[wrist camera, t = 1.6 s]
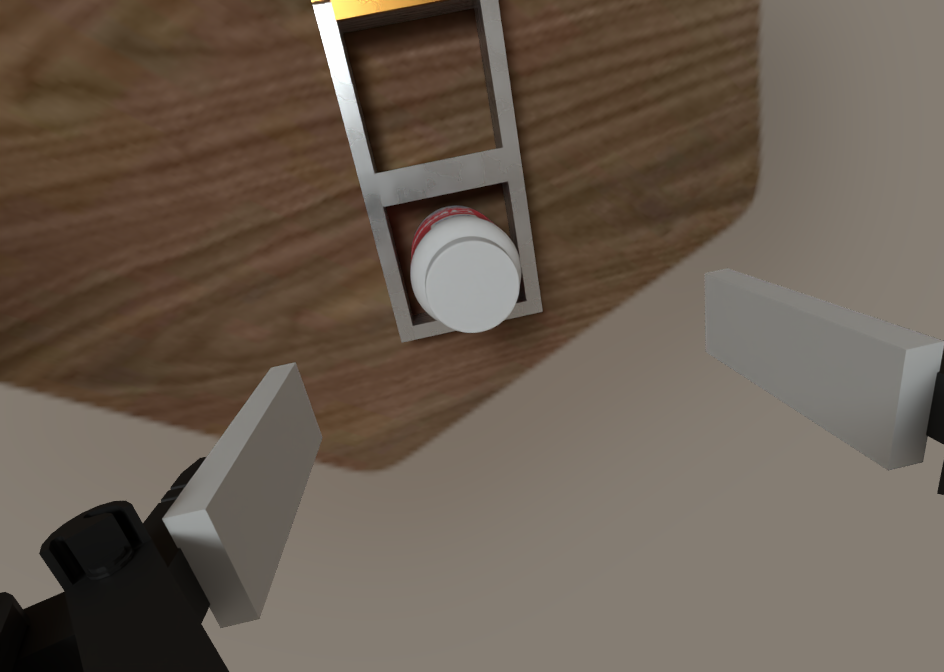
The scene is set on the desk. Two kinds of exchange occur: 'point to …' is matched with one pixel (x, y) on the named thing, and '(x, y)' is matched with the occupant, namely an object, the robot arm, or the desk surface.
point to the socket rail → (383, 3)
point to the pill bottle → (464, 269)
